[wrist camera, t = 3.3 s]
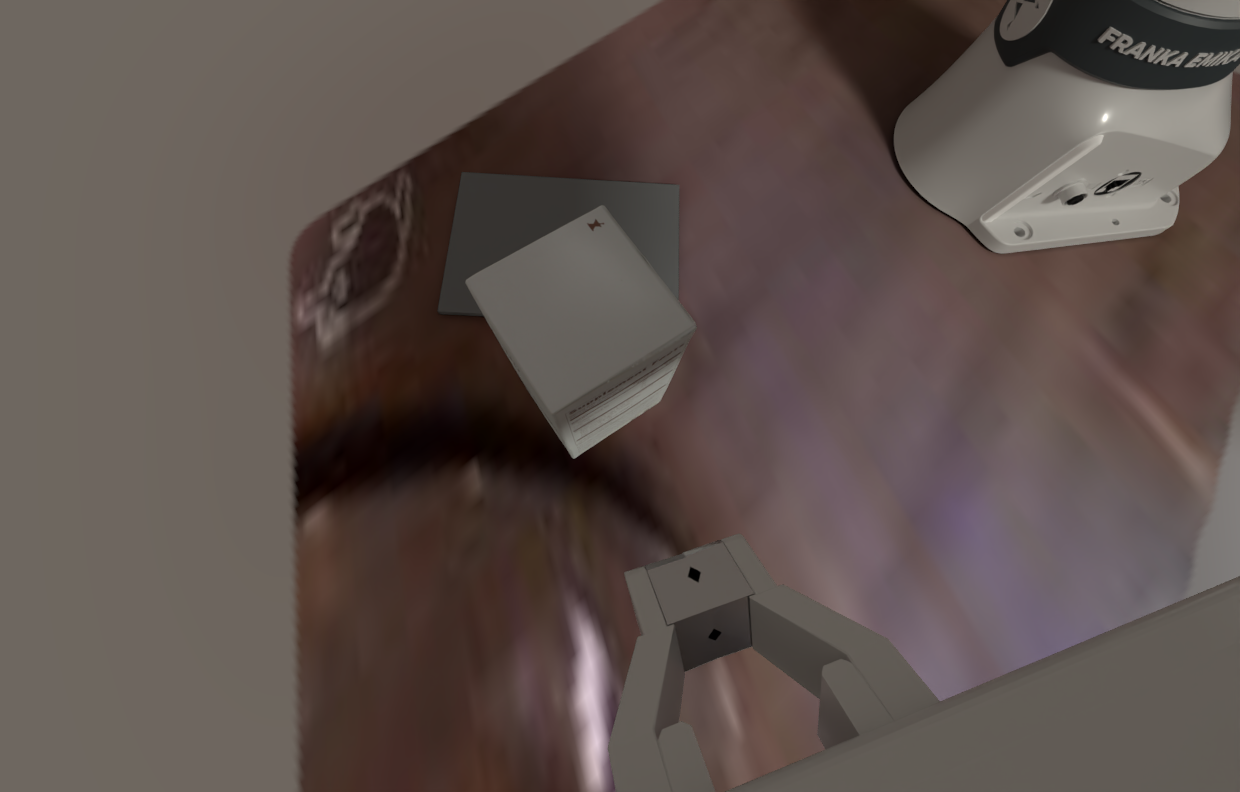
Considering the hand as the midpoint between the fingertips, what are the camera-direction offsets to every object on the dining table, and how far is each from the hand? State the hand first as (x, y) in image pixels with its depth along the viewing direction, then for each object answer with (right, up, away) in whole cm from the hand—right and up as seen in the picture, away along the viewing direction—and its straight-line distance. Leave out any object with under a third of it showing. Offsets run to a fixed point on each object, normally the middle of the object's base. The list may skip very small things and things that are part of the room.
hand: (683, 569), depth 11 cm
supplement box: (-4, +5, +20) cm, 21 cm away
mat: (-6, +15, +23) cm, 28 cm away
